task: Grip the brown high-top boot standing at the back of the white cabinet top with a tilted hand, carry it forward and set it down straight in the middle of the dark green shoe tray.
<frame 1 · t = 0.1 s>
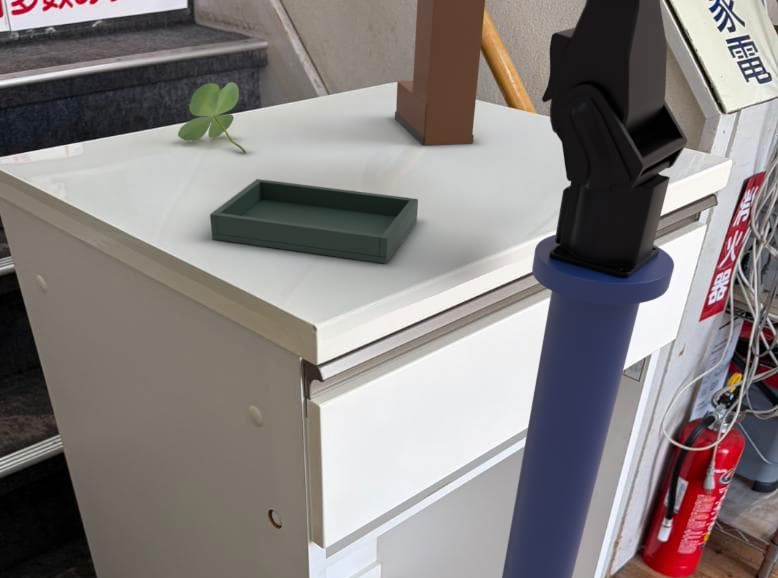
boot: (436, 134, 93), on the table
green leafy piece: (213, 148, 88), on the table
shoe tray: (317, 230, 70), on the table
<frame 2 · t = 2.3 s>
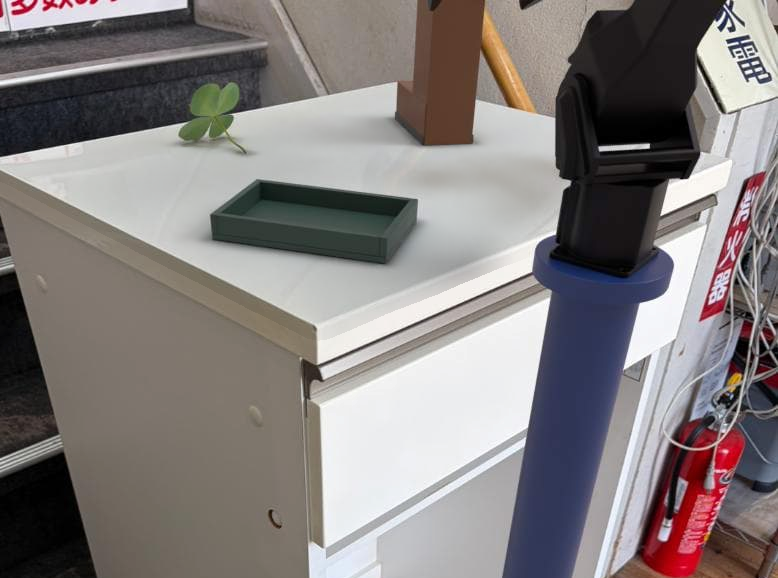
hand: (476, 5, 78), 13 cm above the table, tool tilted 45°, fingers open, 9 cm apart
nothing on the table moved.
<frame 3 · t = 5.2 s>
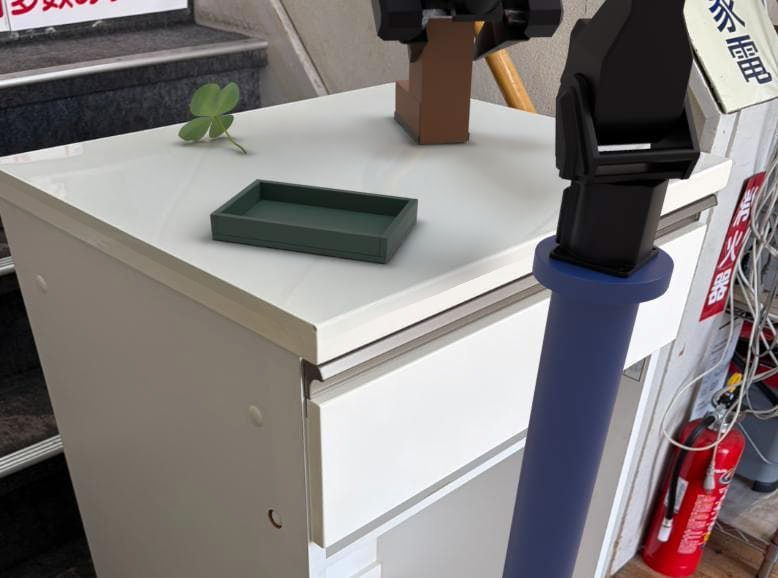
hand: (442, 57, 89), 8 cm above the table, tool tilted 45°, fingers closed on boot, 7 cm apart
boot: (433, 132, 93), on the table, touching gripper
everything else where it was.
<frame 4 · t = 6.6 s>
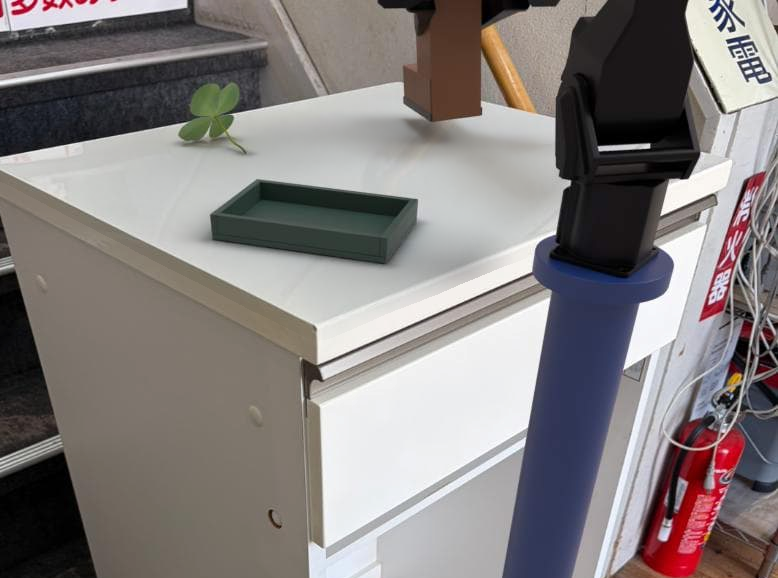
hand: (443, 31, 87), 10 cm above the table, tool tilted 45°, fingers closed on boot, 5 cm apart
boot: (445, 111, 92), point 2 cm above the table, tilted 6°, touching gripper
everything else where it was.
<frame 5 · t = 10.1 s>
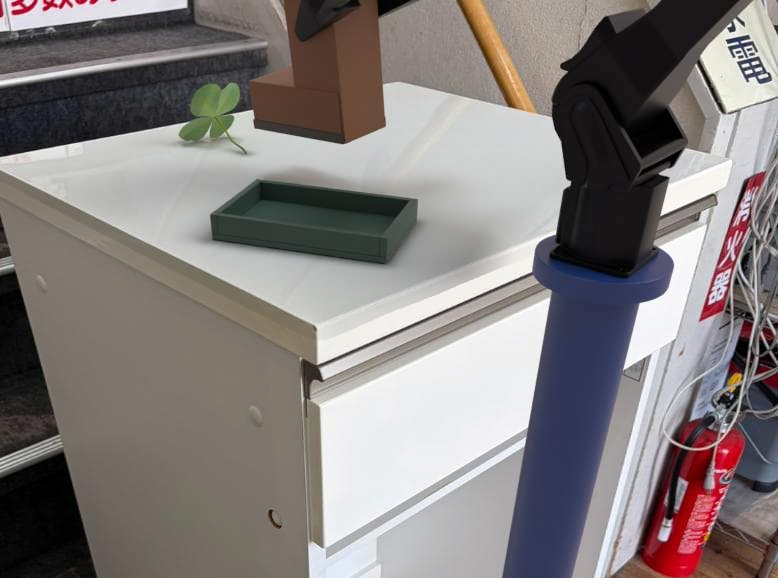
hand: (321, 32, 70), 13 cm above the table, tool tilted 45°, fingers closed on boot, 5 cm apart
boot: (331, 129, 75), point 5 cm above the table, tilted 6°, touching gripper
everything else where it was.
when the fingers open (9 cm above the table, at t = 13.8 s): boot stays where it is, resting on shoe tray.
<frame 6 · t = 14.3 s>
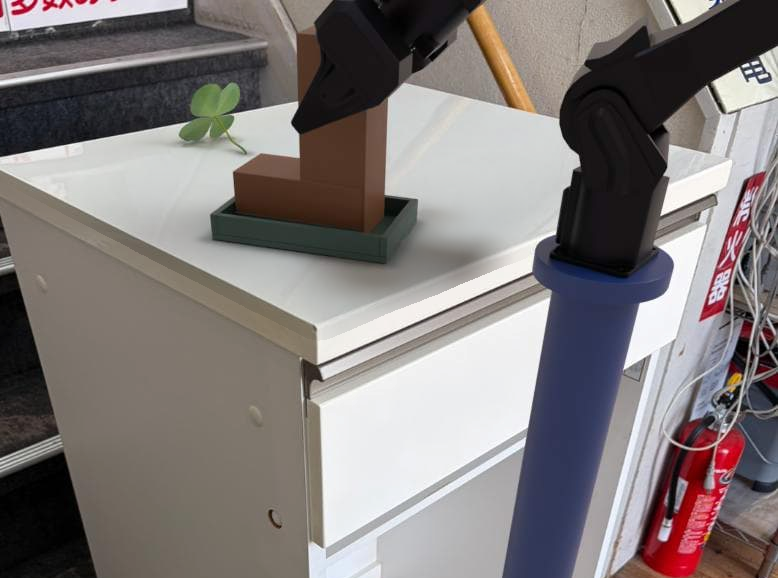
hand: (316, 113, 64), 9 cm above the table, tool tilted 45°, fingers open, 9 cm apart
boot: (326, 222, 70), resting on shoe tray
everything else where it was.
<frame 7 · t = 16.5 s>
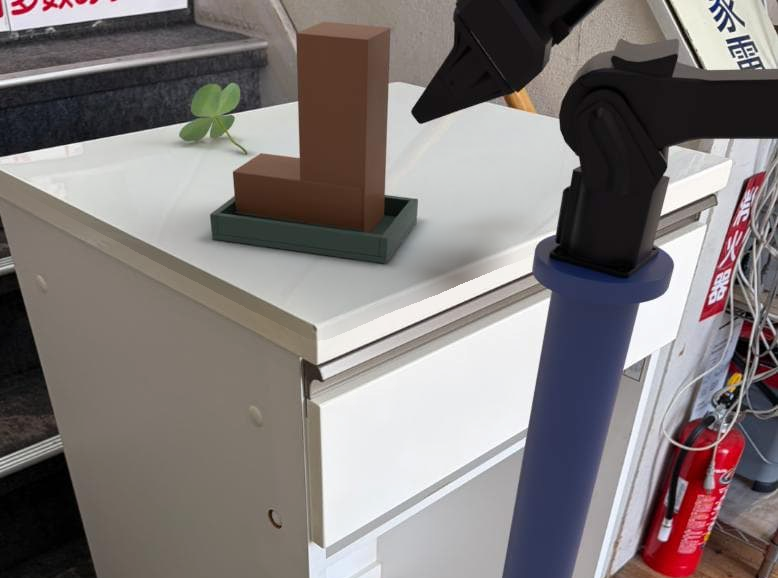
hand: (430, 103, 61), 10 cm above the table, tool tilted 45°, fingers open, 9 cm apart
nothing on the table moved.
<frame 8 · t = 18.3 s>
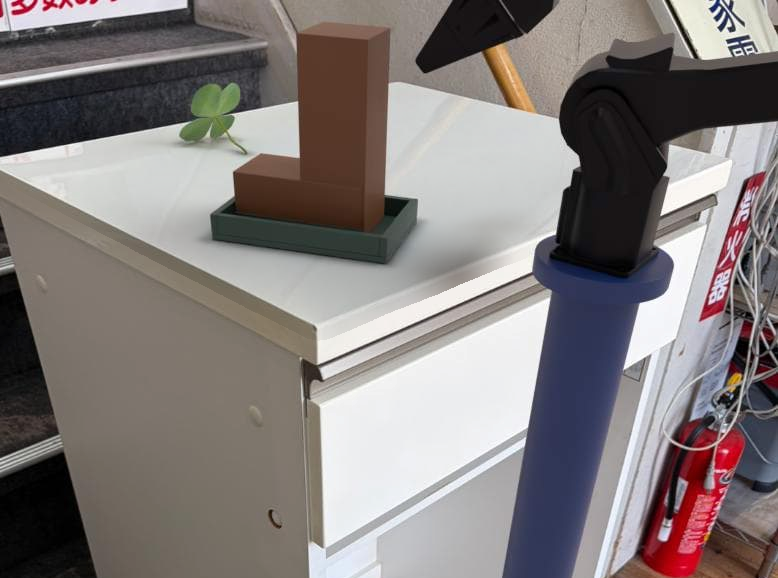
hand: (435, 54, 59), 14 cm above the table, tool tilted 45°, fingers open, 9 cm apart
nothing on the table moved.
at the end: boot inside the target area in the shoe tray (1.0 cm from its centre), point 0.5 cm above the shoe tray's base; boot tilted 0°; the gripper is holding nothing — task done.
